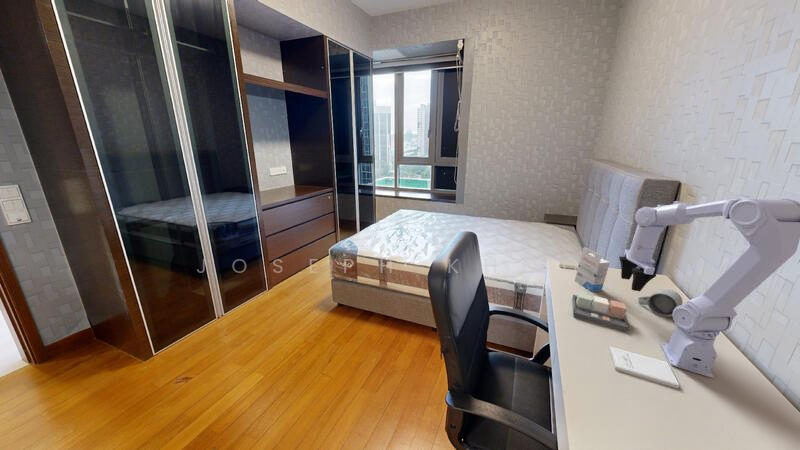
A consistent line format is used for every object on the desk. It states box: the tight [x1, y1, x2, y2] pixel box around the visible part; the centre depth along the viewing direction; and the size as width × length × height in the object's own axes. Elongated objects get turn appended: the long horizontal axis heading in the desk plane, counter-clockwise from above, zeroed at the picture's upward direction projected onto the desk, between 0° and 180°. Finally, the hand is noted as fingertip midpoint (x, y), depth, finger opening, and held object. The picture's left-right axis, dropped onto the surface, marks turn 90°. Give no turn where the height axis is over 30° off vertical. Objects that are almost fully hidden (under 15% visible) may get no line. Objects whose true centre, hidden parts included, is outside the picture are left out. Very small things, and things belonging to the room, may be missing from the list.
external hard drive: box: [608, 346, 680, 389], centre depth 73 cm, size 2×8×12 cm
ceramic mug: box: [637, 288, 684, 317], centre depth 97 cm, size 11×8×8 cm
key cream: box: [592, 295, 610, 313], centre depth 93 cm, size 4×4×3 cm
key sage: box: [576, 291, 592, 309], centre depth 95 cm, size 4×4×3 cm
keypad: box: [571, 294, 630, 333], centre depth 94 cm, size 12×14×2 cm
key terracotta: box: [608, 299, 627, 318], centre depth 91 cm, size 4×4×3 cm
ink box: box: [574, 246, 611, 292], centre depth 109 cm, size 8×5×15 cm, turn 13°
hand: (630, 284), depth 93 cm, fingers open, 7 cm apart
